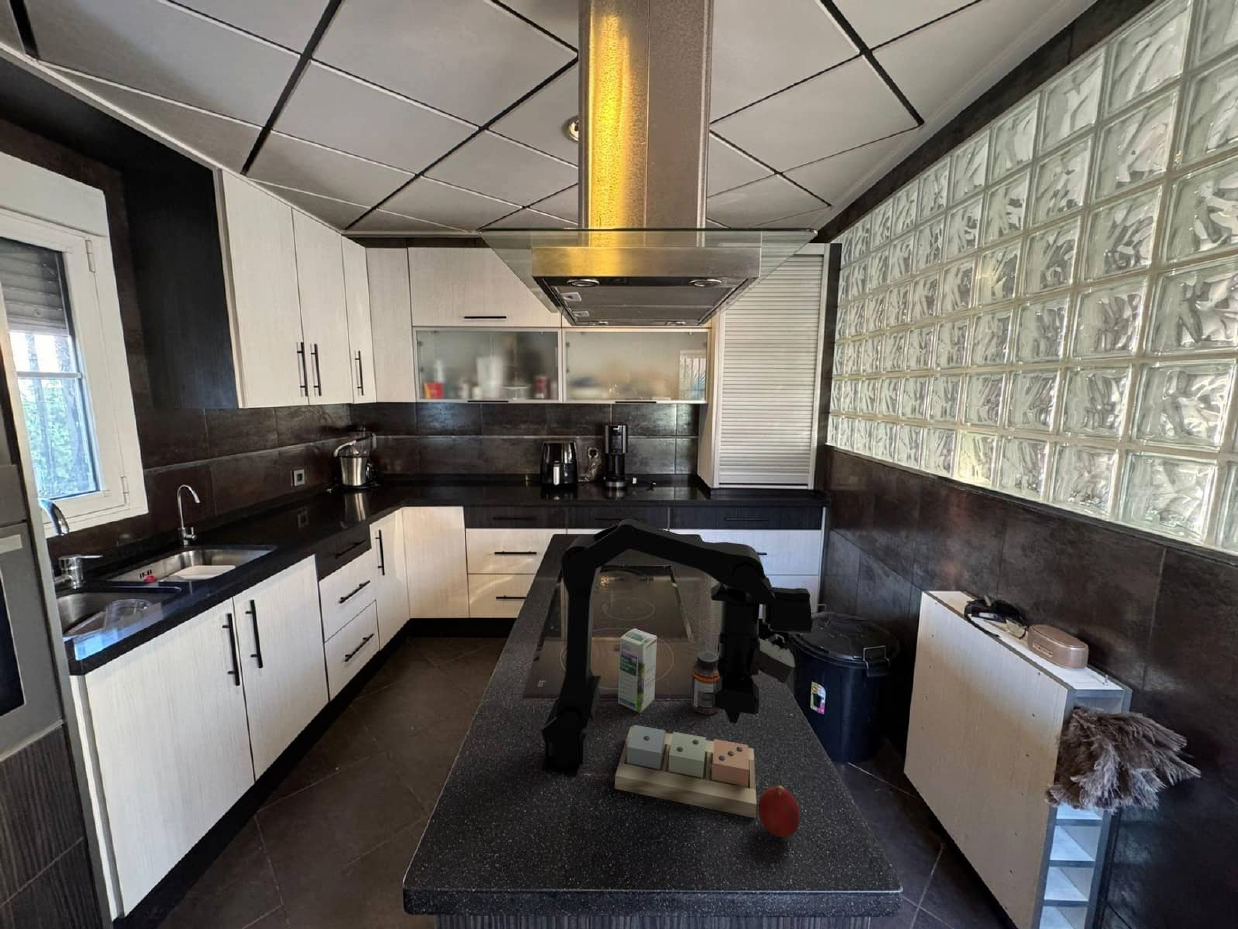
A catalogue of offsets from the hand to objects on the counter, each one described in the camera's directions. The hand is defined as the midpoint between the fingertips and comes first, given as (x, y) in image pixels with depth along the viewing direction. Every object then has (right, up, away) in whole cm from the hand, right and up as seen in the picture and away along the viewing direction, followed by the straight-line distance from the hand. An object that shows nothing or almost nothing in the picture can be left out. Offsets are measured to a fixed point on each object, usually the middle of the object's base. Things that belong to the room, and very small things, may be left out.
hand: (733, 716), depth 80 cm
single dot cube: (-14, -9, +5) cm, 17 cm away
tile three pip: (0, -10, +1) cm, 10 cm away
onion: (+5, -14, -7) cm, 16 cm away
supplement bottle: (-1, -9, +21) cm, 23 cm away
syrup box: (-15, -9, +22) cm, 28 cm away
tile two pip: (-7, -9, +3) cm, 12 cm away
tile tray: (-7, -11, +3) cm, 14 cm away
